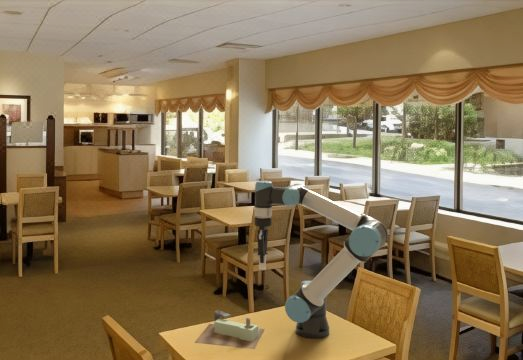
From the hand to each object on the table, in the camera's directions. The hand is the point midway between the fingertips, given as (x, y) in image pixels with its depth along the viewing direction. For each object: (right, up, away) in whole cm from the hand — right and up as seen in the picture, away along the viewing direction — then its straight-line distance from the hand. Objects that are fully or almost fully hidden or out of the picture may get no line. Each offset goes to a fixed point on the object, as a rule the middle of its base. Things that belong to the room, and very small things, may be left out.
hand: (262, 269), depth 236 cm
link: (-12, -29, -1) cm, 31 cm away
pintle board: (-14, -30, -2) cm, 33 cm away
